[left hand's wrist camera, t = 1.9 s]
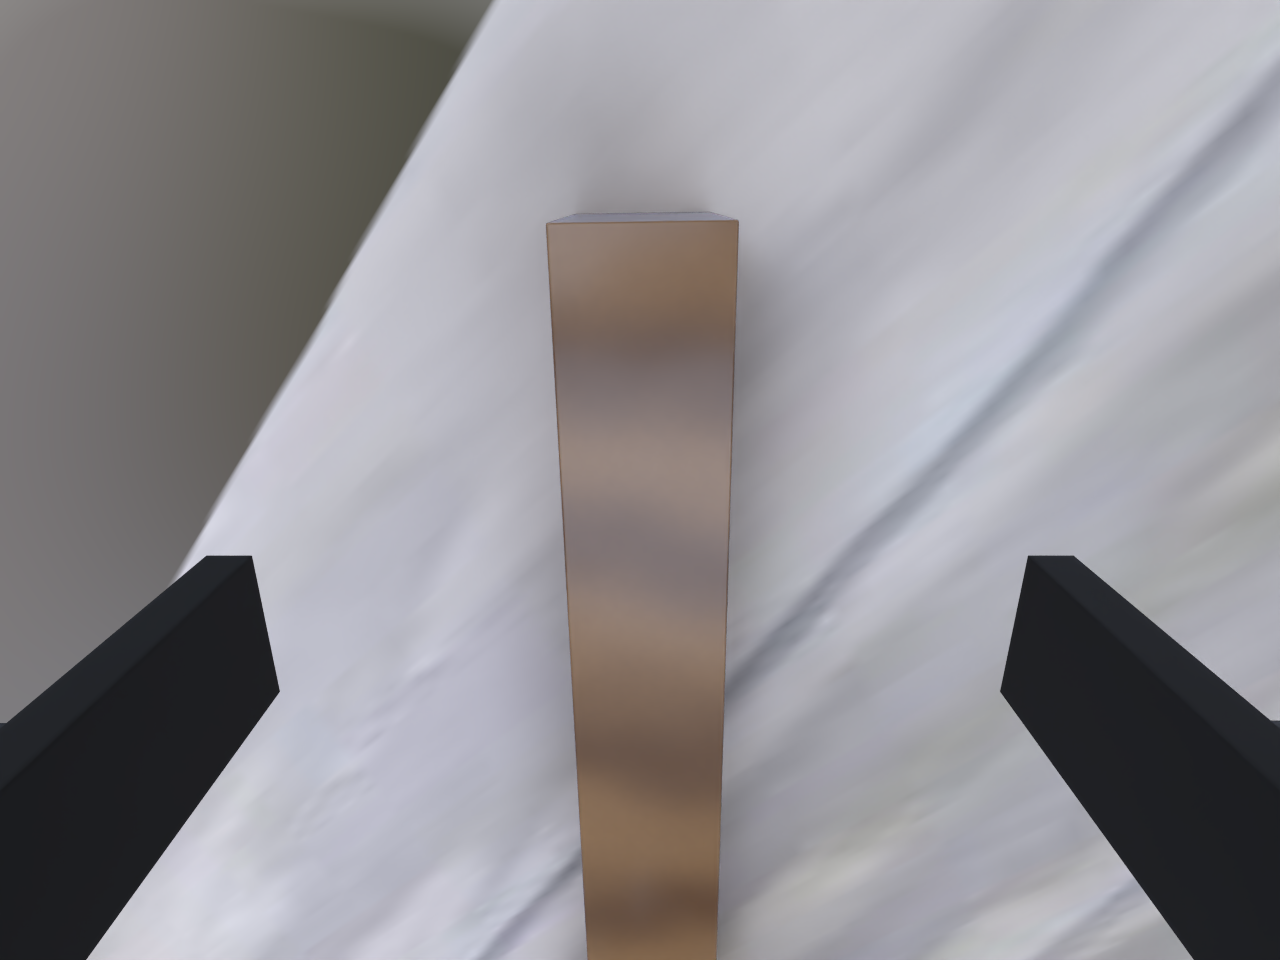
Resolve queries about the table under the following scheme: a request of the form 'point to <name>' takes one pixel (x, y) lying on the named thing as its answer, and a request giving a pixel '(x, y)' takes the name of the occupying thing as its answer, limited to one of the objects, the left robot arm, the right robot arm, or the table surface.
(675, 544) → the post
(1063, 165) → the table surface
